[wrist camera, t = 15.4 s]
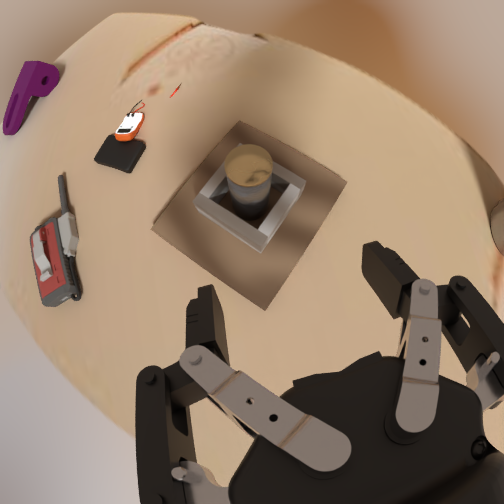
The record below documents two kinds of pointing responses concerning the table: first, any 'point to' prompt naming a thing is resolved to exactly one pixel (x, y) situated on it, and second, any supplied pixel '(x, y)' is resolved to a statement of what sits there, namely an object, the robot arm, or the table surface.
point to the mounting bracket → (28, 91)
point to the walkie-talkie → (56, 256)
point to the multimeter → (123, 144)
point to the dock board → (256, 231)
